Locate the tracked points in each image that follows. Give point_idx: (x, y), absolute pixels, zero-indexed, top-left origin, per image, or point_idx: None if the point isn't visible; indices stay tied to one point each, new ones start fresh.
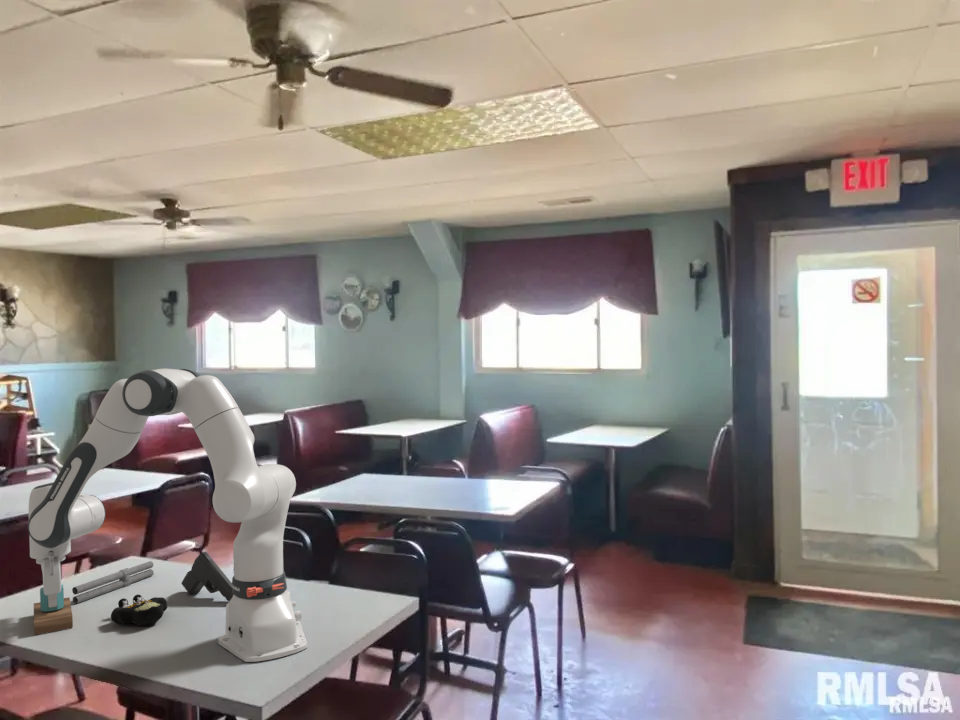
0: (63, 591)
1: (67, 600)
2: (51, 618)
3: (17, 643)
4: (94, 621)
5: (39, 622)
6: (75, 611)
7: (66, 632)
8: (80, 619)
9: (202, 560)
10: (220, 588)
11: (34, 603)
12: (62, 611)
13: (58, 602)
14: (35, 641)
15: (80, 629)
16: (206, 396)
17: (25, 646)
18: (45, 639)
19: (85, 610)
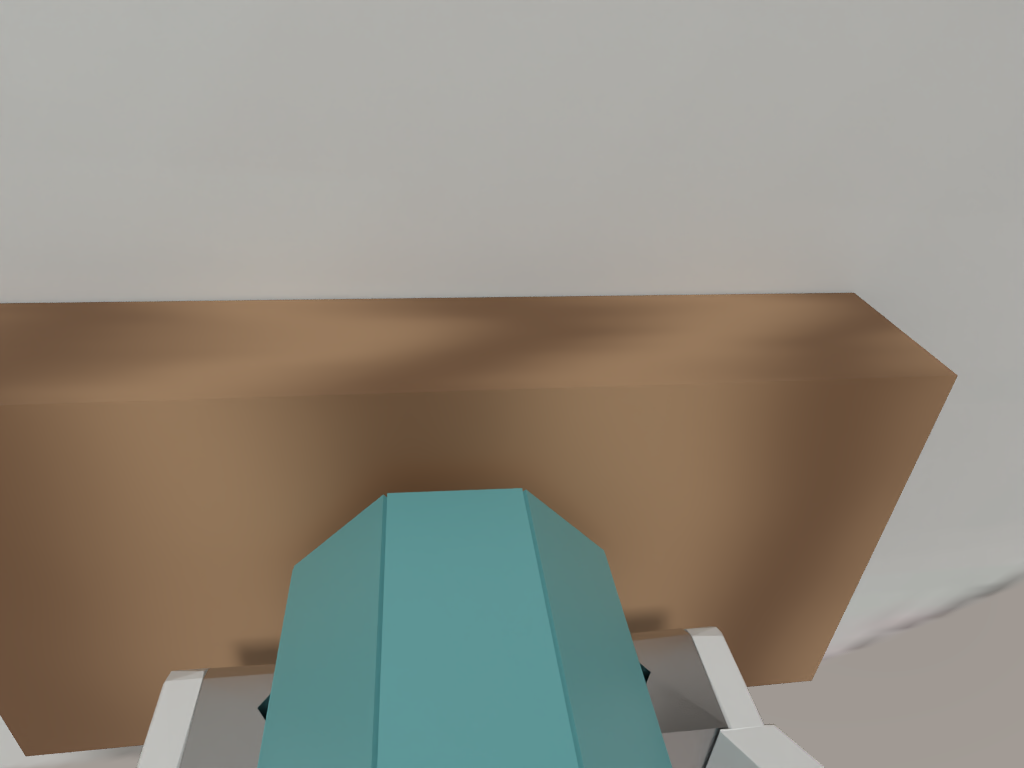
0: (567, 737)
1: (52, 437)
2: (826, 570)
3: (834, 644)
4: (837, 7)
5: (823, 641)
6: (133, 234)
7: (931, 352)
8: (585, 191)
9: None
10: None
11: (32, 749)
12: (643, 483)
13: (619, 628)
14: (911, 556)
15: (981, 215)
16: None
17: (953, 600)
18: (940, 500)
19: (146, 84)
